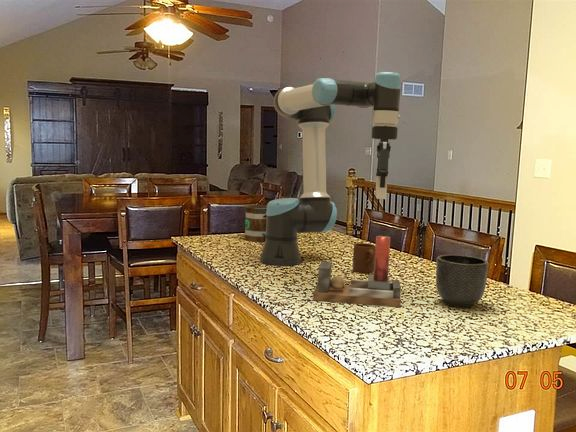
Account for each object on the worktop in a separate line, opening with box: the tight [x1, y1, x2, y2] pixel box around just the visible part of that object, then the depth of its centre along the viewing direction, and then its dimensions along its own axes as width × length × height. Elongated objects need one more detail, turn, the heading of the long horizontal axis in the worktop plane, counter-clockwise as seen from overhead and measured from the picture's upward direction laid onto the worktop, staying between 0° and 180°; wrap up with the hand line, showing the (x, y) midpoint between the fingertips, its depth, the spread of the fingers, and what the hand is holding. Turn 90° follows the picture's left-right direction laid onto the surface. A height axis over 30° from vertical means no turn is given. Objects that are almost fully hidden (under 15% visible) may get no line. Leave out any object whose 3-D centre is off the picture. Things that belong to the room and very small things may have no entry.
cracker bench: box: [312, 261, 402, 308], centre depth 155 cm, size 24×12×9 cm, turn 81°
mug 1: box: [244, 204, 267, 243], centre depth 242 cm, size 20×14×15 cm
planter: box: [435, 254, 489, 309], centre depth 152 cm, size 14×14×13 cm
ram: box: [367, 235, 391, 291], centre depth 153 cm, size 6×8×16 cm
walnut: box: [330, 275, 345, 289], centre depth 156 cm, size 4×4×4 cm
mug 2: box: [352, 242, 376, 275], centre depth 187 cm, size 12×8×9 cm, turn 13°
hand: (380, 196), depth 163 cm, fingers open, 13 cm apart
